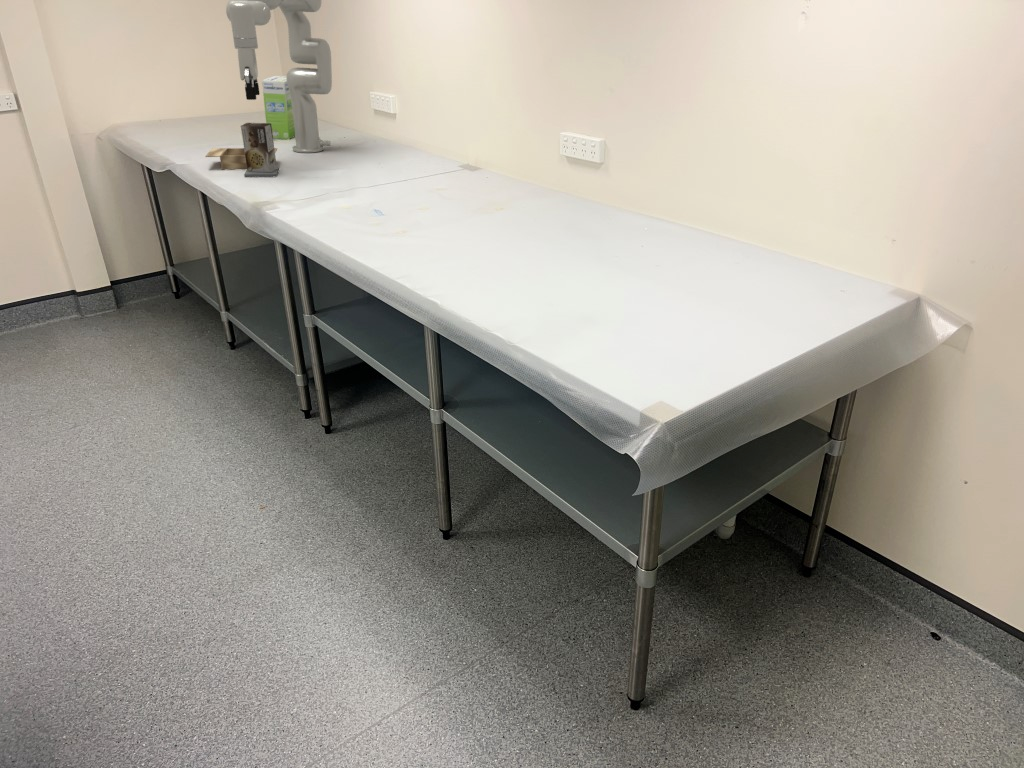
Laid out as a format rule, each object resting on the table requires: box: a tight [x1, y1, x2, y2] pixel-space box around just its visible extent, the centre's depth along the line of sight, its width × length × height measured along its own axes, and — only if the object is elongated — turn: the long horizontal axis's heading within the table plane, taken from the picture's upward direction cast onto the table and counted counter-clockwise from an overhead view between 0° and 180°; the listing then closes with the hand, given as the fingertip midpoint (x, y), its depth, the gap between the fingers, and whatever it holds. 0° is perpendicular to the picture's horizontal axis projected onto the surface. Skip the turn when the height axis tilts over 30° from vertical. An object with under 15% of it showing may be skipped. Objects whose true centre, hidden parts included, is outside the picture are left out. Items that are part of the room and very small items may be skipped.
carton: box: [205, 147, 278, 170], centre depth 280 cm, size 24×14×5 cm, turn 100°
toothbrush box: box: [261, 75, 295, 140], centre depth 329 cm, size 18×10×24 cm, turn 178°
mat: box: [243, 166, 280, 178], centre depth 271 cm, size 11×12×1 cm
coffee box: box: [240, 122, 278, 172], centre depth 267 cm, size 9×6×16 cm
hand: (253, 97), depth 260 cm, fingers open, 9 cm apart
